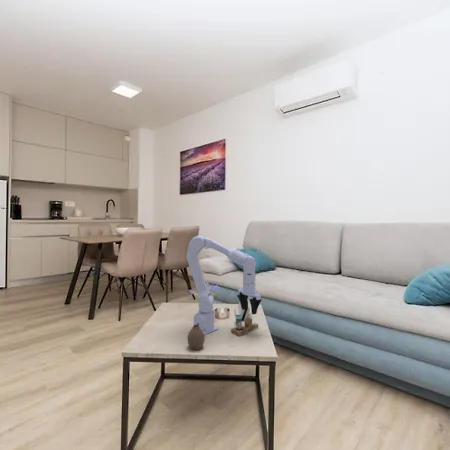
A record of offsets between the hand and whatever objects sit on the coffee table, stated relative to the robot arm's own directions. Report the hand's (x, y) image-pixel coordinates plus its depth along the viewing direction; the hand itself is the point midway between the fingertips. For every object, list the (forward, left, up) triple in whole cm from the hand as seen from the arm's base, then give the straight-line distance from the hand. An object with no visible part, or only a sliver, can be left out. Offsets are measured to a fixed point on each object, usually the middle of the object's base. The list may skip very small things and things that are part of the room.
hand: (248, 311), depth 132 cm
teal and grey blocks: (+1, +6, -9) cm, 11 cm away
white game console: (+15, +15, -9) cm, 23 cm away
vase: (-28, +6, -9) cm, 30 cm away
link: (-1, +1, -9) cm, 9 cm away
